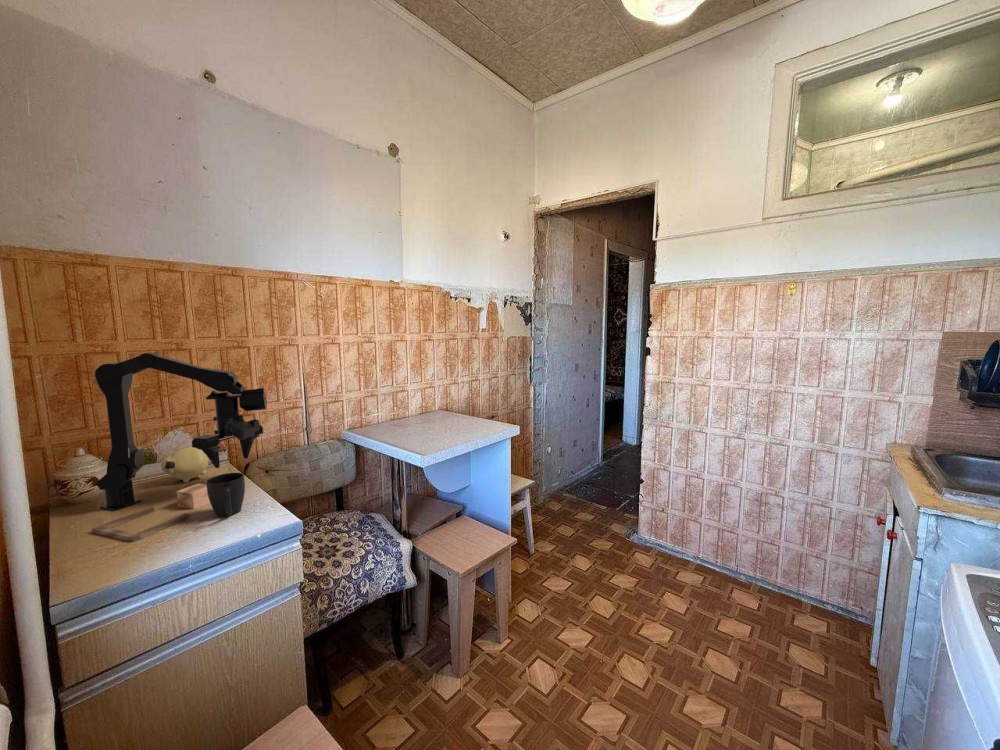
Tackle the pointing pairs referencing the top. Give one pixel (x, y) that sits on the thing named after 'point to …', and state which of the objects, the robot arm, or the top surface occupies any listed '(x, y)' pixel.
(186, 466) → the toy pig
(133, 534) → the walnut bay
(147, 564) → the top surface
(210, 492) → the mug
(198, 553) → the top surface
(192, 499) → the terracotta block
